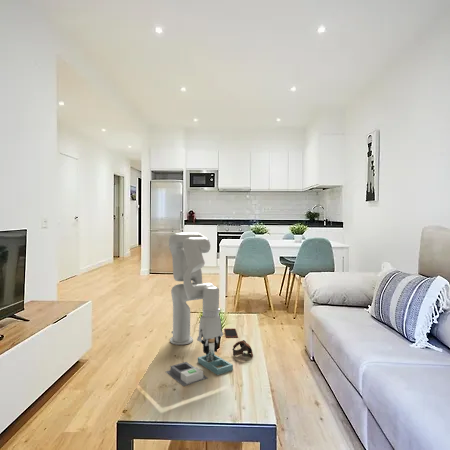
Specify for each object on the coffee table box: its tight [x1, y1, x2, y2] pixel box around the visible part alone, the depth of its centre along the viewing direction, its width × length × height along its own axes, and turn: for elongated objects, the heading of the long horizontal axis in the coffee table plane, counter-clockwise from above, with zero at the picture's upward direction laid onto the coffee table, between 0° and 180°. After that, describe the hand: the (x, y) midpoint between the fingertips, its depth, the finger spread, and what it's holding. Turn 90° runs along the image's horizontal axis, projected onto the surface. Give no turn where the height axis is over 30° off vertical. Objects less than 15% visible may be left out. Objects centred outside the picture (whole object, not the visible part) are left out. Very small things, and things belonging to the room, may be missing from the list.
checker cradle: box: [165, 361, 209, 387], centre depth 151 cm, size 16×12×5 cm
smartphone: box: [223, 328, 239, 339], centre depth 207 cm, size 7×1×15 cm
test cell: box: [205, 337, 216, 362], centre depth 163 cm, size 4×4×12 cm
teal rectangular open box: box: [197, 354, 234, 376], centre depth 160 cm, size 16×8×4 cm, turn 37°
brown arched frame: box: [232, 339, 254, 358], centre depth 176 cm, size 12×10×8 cm
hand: (210, 351), depth 163 cm, fingers open, 4 cm apart
